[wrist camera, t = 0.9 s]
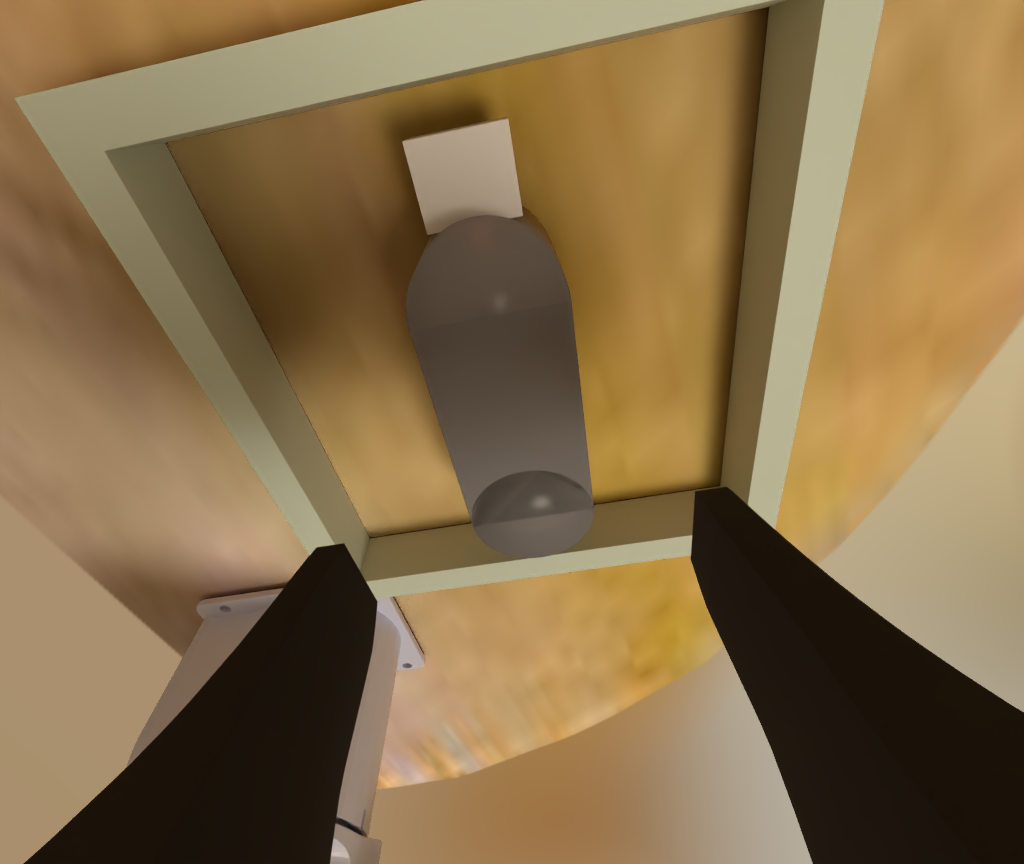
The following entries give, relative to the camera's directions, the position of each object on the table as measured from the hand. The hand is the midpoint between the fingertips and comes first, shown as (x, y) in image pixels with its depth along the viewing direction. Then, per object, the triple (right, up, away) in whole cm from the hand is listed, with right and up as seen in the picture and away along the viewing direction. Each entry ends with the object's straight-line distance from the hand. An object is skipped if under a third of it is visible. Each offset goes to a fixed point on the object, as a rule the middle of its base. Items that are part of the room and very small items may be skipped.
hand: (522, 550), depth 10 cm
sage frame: (0, +5, +6) cm, 8 cm away
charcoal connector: (0, +5, +7) cm, 8 cm away
